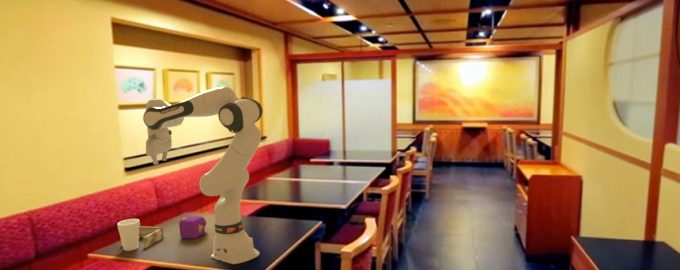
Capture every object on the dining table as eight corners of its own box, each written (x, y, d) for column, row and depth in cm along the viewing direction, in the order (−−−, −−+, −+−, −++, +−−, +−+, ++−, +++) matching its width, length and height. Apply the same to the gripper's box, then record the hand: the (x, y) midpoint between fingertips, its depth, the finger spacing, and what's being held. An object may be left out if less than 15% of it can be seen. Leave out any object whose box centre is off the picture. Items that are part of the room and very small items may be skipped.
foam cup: (121, 246, 203) (118, 220, 201) (142, 243, 206) (139, 217, 205) (119, 253, 194) (116, 226, 193) (141, 249, 198) (138, 223, 196)
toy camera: (210, 230, 221) (208, 212, 220) (198, 239, 208) (197, 220, 207) (190, 230, 222) (189, 212, 221) (178, 239, 209) (176, 220, 208)
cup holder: (145, 247, 200) (144, 236, 199) (121, 246, 203) (120, 235, 203) (163, 237, 212) (162, 227, 212) (140, 236, 216) (139, 226, 215)
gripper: (154, 136, 186) (157, 166, 188) (173, 130, 206) (175, 158, 208) (140, 136, 186) (143, 166, 188) (160, 131, 206) (162, 158, 208)
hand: (160, 162), depth 198 cm, fingers open, 8 cm apart
